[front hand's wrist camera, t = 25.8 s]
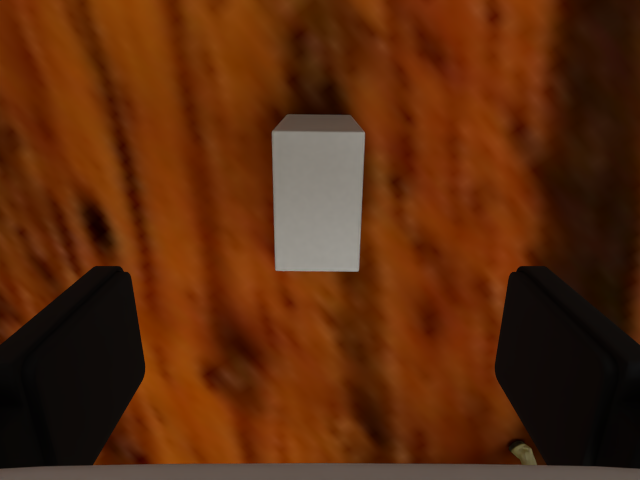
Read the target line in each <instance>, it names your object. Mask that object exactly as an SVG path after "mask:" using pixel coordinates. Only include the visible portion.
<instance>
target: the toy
mask: <svg viewBox="0 0 640 480" xmlns="http://www.w3.org/2000/svg"><path fill="white" fill-rule="evenodd" d="M509 450H510V451H511V452H512V453H513V454H514V455H515V456H516V457H518V458H519V459H520V461H521V463H522V465H537V464H536V461H535V458H534V456H533V453H532V449H531V448H530V447H529V446H527V445H526V444H525V443H524V442H520V441H516V442H514V443H512V444H511V446H509Z"/></svg>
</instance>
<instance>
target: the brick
mask: <svg viewBox="0 0 640 480" xmlns="http://www.w3.org/2000/svg"><path fill="white" fill-rule="evenodd" d="M364 146H365V132H364V131H363V130H362V128H361V127H360V126H359V125H358V124H357V122H356V121H355V120H354V119H353V118H352V116H351V115H306V114H287V115H286V116H285V117H284V118H283V120H282V121H281V122H280V123H279V124H278V125H277V126H276V127H275V129H274V130H273V131H272V162H273V201H274V240H275V270H276V271H359V257H360V235H361V213H362V190H363V168H364Z"/></svg>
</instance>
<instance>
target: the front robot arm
mask: <svg viewBox="0 0 640 480" xmlns="http://www.w3.org/2000/svg"><path fill="white" fill-rule="evenodd" d="M144 374H145V361H144V355H143V349H142V342H141V336H140V330H139V324H138V317H137V311H136V305H135V299H134V292H133V286H132V280H131V276H130V274H129V273H128V272H124V271H123V269H122V268H121V267H119V266H95V267H93V268H92V269H91V270H90V271H88V272H87V273H86V274H85V275H84V276H82V277H81V278H80V279H79V280H78V281H76V282H75V283H74V284H73V285H72V286H70V287H69V288H68V289H67V290H66V291H64V292H63V293H62V294H61V295H60V296H58V297H57V298H56V299H55V300H54V301H52V302H51V303H50V304H49V305H48V306H46V307H45V308H44V309H43V310H42V311H40V312H39V313H38V314H37V315H36V316H35V317H33V318H32V319H31V320H30V321H29V322H27V323H26V324H25V325H24V326H23V327H21V328H20V329H19V330H18V331H17V332H15V333H14V334H13V335H12V336H11V337H9V338H8V339H7V340H6V341H5V342H3V343H2V344H1V345H0V480H640V345H639V344H638V343H637V342H635V341H634V340H633V339H632V338H631V337H629V336H628V335H627V334H626V333H625V332H623V331H622V330H621V329H620V328H619V327H617V326H616V325H615V324H614V323H613V322H611V321H610V320H609V319H608V318H607V317H605V316H604V315H603V314H602V313H601V312H600V311H598V310H597V309H596V308H595V307H594V306H592V305H591V304H590V303H589V302H588V301H586V300H585V299H584V298H583V297H582V296H580V295H579V294H578V293H577V292H576V291H574V290H573V289H572V288H571V287H570V286H568V285H567V284H566V283H565V282H564V281H562V280H561V279H560V278H559V277H558V276H556V275H555V274H554V273H553V272H552V271H550V270H549V269H548V268H547V267H545V266H521V267H519V268H518V269H517V271H516V272H512V273H511V274H510V276H509V280H508V286H507V292H506V299H505V305H504V311H503V317H502V324H501V330H500V336H499V342H498V349H497V355H496V361H495V374H496V378H497V380H498V382H499V384H500V385H501V387H502V389H503V390H504V392H505V394H506V396H507V397H508V399H509V401H510V402H511V404H512V406H513V408H514V409H515V411H516V413H517V414H518V416H519V418H520V419H521V421H522V423H523V425H524V426H525V428H526V430H527V431H528V433H529V435H530V436H531V438H532V440H533V442H534V443H535V445H536V447H537V448H538V450H539V452H540V454H541V455H542V457H543V459H544V460H545V462H546V464H547V465H498V464H349V463H291V464H142V465H93V464H94V462H95V460H96V459H97V457H98V455H99V454H100V452H101V450H102V448H103V447H104V445H105V443H106V442H107V440H108V438H109V436H110V435H111V433H112V431H113V430H114V428H115V426H116V425H117V423H118V421H119V419H120V418H121V416H122V414H123V413H124V411H125V409H126V408H127V406H128V404H129V402H130V401H131V399H132V397H133V396H134V394H135V392H136V390H137V389H138V387H139V385H140V384H141V382H142V380H143V378H144Z"/></svg>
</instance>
